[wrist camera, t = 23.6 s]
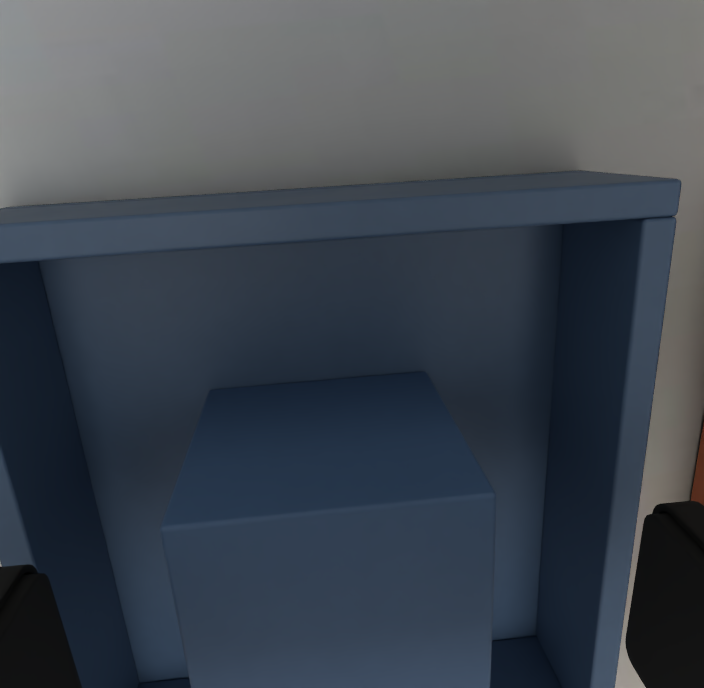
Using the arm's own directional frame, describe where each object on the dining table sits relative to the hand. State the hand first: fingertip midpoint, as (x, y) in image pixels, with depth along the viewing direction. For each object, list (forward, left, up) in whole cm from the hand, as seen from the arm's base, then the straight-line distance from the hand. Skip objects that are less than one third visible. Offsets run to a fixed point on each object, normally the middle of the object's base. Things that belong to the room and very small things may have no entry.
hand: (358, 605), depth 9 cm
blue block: (+1, 0, -5) cm, 5 cm away
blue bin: (+1, 0, -5) cm, 5 cm away
